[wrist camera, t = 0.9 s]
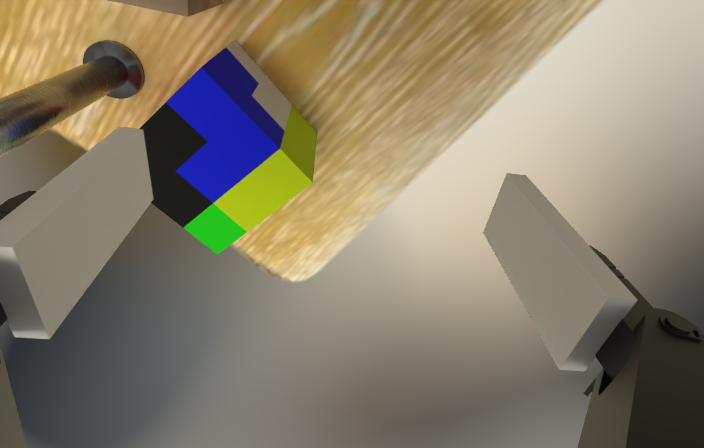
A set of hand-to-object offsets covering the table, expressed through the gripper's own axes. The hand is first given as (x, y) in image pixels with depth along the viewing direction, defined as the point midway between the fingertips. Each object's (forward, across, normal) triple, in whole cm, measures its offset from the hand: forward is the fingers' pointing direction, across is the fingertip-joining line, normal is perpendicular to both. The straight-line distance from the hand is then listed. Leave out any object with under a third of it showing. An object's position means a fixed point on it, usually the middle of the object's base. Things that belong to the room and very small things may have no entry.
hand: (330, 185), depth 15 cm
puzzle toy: (+22, -8, -7) cm, 24 cm away
